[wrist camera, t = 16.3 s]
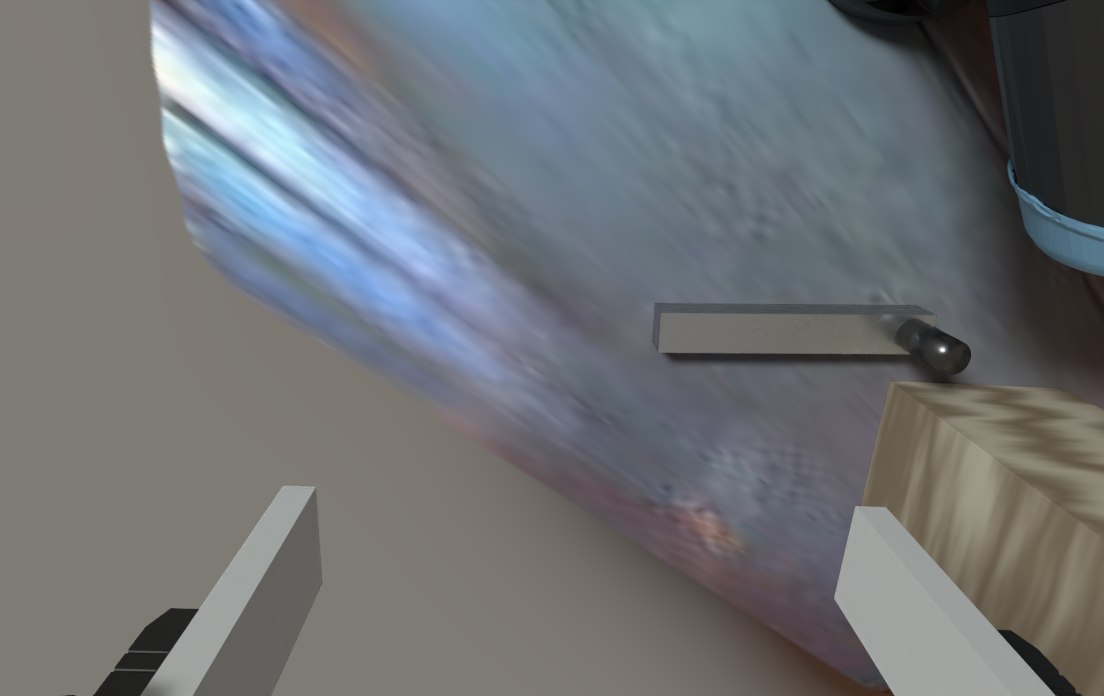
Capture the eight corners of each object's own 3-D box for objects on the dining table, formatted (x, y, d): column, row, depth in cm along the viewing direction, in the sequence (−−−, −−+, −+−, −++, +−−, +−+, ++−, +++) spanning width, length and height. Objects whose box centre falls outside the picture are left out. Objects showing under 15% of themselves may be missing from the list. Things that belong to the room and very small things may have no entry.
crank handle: (651, 339, 52) (671, 378, 44) (654, 302, 51) (674, 334, 43) (907, 341, 52) (970, 379, 45) (914, 304, 51) (980, 336, 44)
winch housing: (849, 554, 58) (1148, 968, 30) (890, 380, 53) (1298, 684, 25) (1005, 559, 59) (1444, 970, 31) (1061, 388, 54) (1653, 693, 25)
